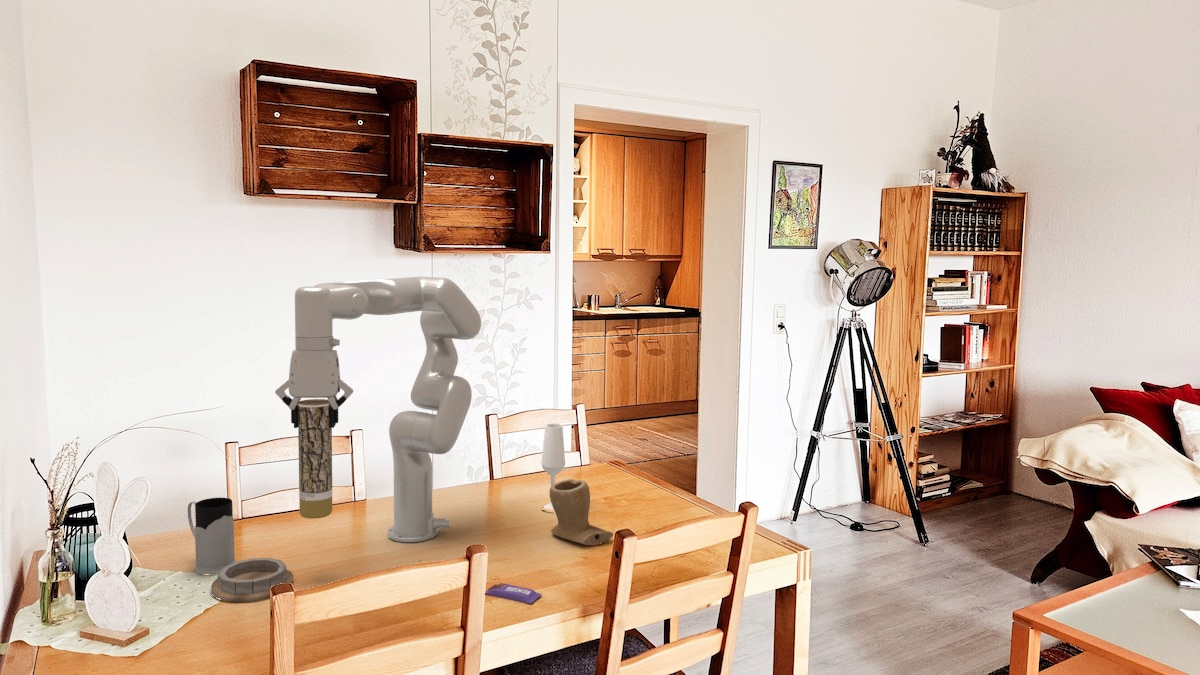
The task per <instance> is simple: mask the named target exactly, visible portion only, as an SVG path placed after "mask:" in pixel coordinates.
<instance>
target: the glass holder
mask: <svg viewBox="0 0 1200 675" xmlns="http://www.w3.org/2000/svg"><path fill="white" fill-rule="evenodd" d="M192 505H194V514H195V517H194V518H195V525H194V523H193V518H192ZM233 513H234V512H233V499H231V498H228V497H210V498H206V499H201V500H199V501H195V500H194V501H190V502H189V503H188V506H187V519H188V523H189V527H190V530H191V533H192V535H193V536H192V537H194V540H195V541H194V542H195V544H194V545H195V546H194V547H195V566H194V569H193V572H194V573H195V574H196V573H197V575H199V574H218V573H219V572H220V571H221V570H222V568H224V567H225V566H228V565H230V564H232V563H234V562H237V561H236V558H235V556H236V555H235V526H234V525H235V524H234V523H235V520H234V516H233Z"/></svg>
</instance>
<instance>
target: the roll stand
mask: <svg viewBox="0 0 1200 675" xmlns="http://www.w3.org/2000/svg"><path fill="white" fill-rule="evenodd" d="M280 583H292V584H294V574H293V573H292V572H291V571H290V570H289V569H287V565H286V563H285V562H284V561H283V560H281V559H276V558H271V557H253V558H248V559H243V560H238V561H236V562H234V563H232V564H230V565H228V566H225V567H224V568H222V570H221V571H220V572H219V573H218V575H217V578H216V579H215V580H214V581H213V582H212V584H211V586H210V587H211V588H210V589H211V590H210V591H211V595H212V594H213V595H214V596H215V597H217V598H220V599H221V600H222V601H221V602H224V603H232V604H246V603H248V604H249V603H253V602H260V601H265V600H269V599H271V598H270V588H271V586H273V585H277V584H280Z"/></svg>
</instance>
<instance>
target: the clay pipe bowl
mask: <svg viewBox="0 0 1200 675" xmlns="http://www.w3.org/2000/svg"><path fill="white" fill-rule="evenodd" d="M549 499H550V500H551V503H552V506H553V508H554V511H555V513H554V514H555V515H556V518H557V525H555V526H553V527H552V528H551V529H550V533H552V535H554V536H557V537H559V538H562V539H564V540H568V541H571V542H575V543H578V544H581V545H585V546H597V545H596V544H598V545H601V544H604V543H606V542H607V541H609V540H610V539H612V537H614V532H611V531H608V530H605V529H604V528H600V527H597V526H594V525H592V524H590V523H589V522H590V521H589V512H590V507H591V506H590V505H591V491H590V487H589V485H588V483H587V482H586V481H585V480H583V479H579V480H577V479H572V478H569V479H564V480H560V481H558V482H555V484H553V485H552V486H551V485H550V488H549ZM600 543H601V544H600Z"/></svg>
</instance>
